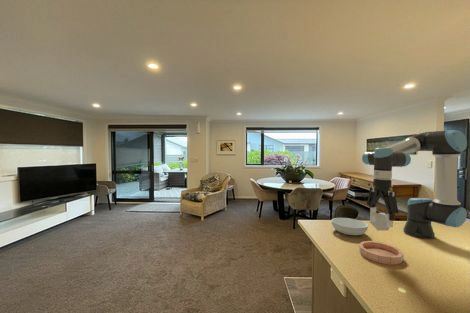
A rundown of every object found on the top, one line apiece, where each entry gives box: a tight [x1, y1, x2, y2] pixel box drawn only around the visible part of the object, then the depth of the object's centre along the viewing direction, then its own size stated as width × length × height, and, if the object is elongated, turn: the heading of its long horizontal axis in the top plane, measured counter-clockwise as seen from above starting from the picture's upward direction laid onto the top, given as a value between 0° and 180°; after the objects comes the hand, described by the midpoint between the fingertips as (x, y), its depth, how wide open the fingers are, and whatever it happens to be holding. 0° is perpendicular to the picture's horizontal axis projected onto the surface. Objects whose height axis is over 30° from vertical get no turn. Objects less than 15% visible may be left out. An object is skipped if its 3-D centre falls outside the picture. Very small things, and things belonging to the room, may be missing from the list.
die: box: [369, 212, 391, 232], centre depth 108 cm, size 8×9×10 cm
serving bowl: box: [331, 217, 369, 236], centre depth 139 cm, size 21×21×7 cm
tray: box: [358, 240, 405, 266], centre depth 109 cm, size 18×18×4 cm
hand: (380, 223), depth 108 cm, fingers closed on die, 10 cm apart
